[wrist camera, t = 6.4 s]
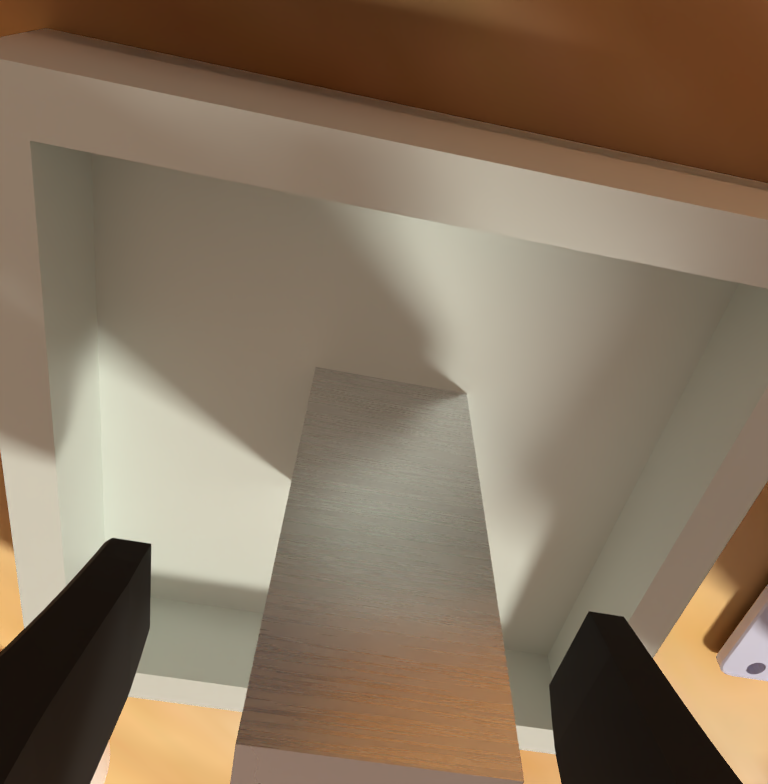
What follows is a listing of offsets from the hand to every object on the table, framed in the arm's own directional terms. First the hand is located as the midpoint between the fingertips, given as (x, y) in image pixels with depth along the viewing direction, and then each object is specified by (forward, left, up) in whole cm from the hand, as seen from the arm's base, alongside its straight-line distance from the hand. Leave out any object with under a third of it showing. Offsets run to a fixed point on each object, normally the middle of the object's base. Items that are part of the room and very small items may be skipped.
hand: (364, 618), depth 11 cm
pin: (0, 0, -5) cm, 5 cm away
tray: (0, 0, -5) cm, 5 cm away
